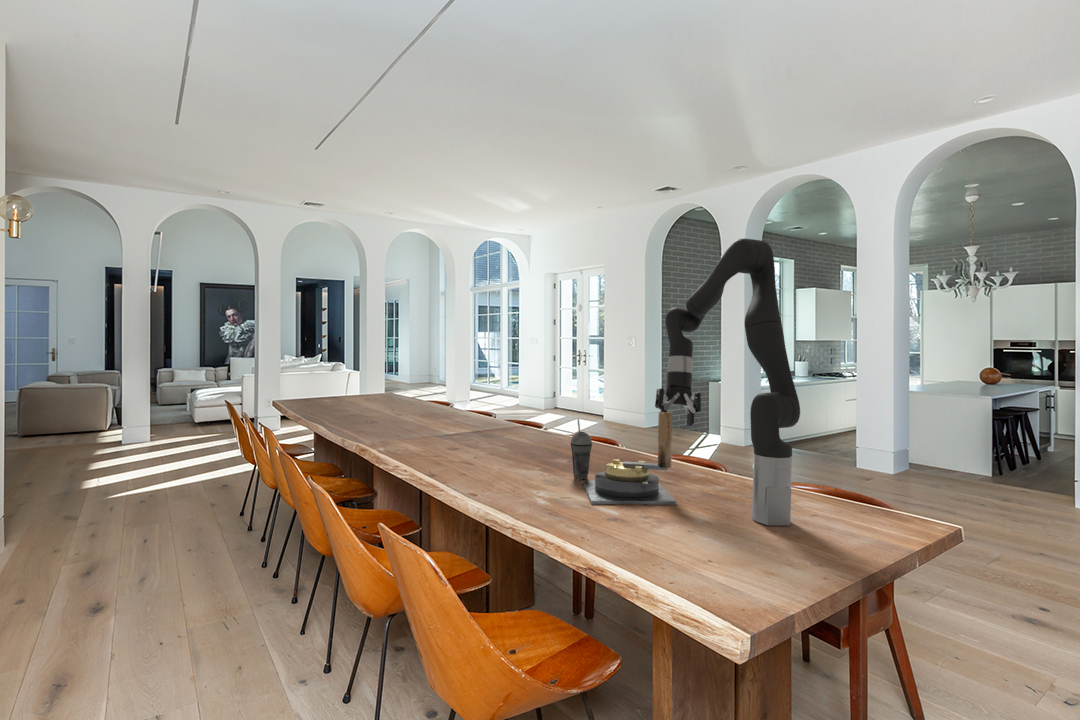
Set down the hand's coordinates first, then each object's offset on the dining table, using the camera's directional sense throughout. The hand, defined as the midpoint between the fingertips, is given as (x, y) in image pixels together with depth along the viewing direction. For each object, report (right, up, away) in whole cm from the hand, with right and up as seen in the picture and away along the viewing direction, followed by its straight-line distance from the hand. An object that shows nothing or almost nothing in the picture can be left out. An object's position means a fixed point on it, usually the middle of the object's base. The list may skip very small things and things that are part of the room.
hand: (677, 424), depth 180 cm
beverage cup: (-28, -20, +16) cm, 38 cm away
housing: (-16, -21, -2) cm, 26 cm away
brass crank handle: (-13, -15, -3) cm, 20 cm away
